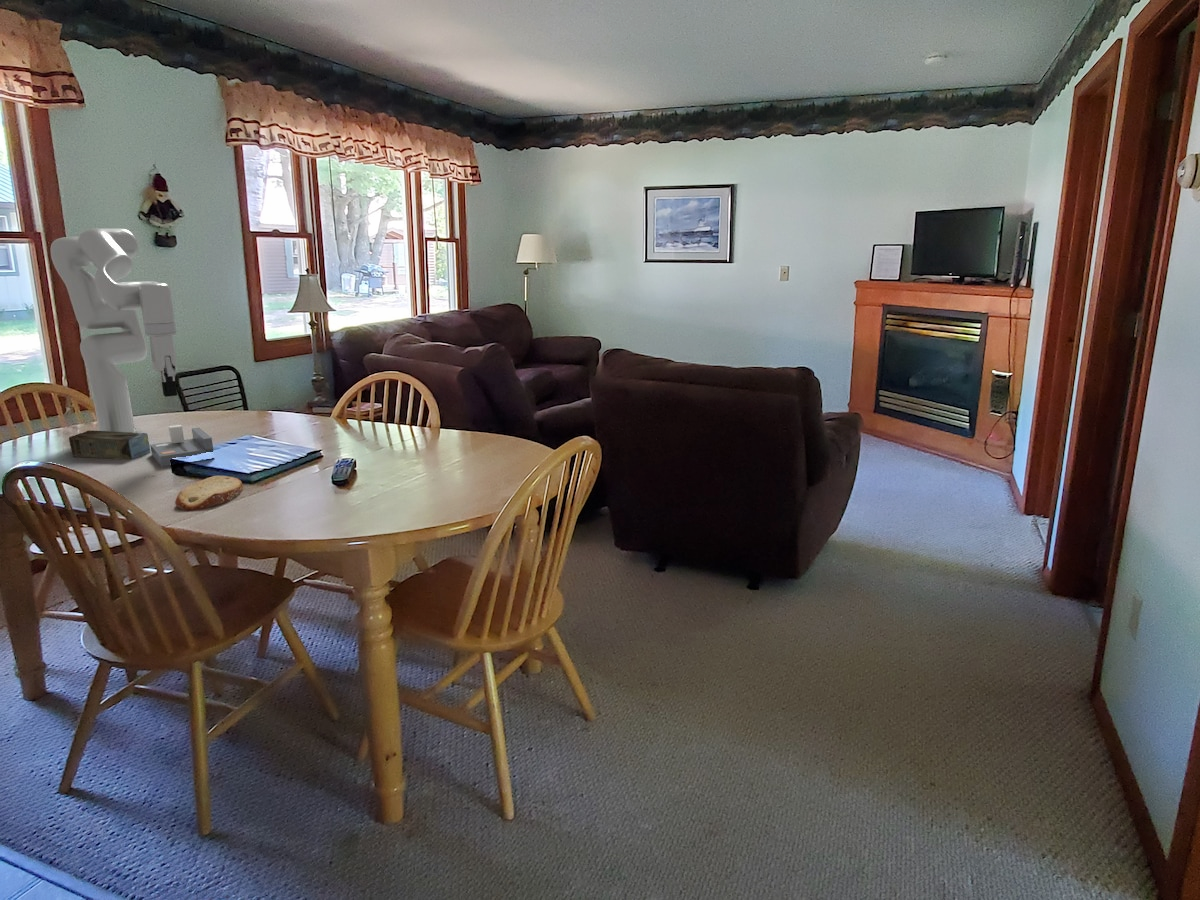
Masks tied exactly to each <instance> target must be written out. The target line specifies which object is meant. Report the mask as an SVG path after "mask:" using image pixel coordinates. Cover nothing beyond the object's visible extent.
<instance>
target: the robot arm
mask: <svg viewBox="0 0 1200 900" xmlns="http://www.w3.org/2000/svg"><path fill="white" fill-rule="evenodd" d="M138 252H139V243H138V240H137V238H136V237H135V235H134V234H133V233H132V232H131V231H129V229H125V228H120V227H119V228H116V227H115V228H112V227H111V228H109V227H108V228H107V227H106V228H105V227H102V228H101V227H97V228H96V227H95V228H87V229H85V230H84V231H82V232H81V233H80V234H79V235H78V236H77V235H76V236H64V237H59V238H55V239H54V240H53V241H52V242H51V245H50V258H51V260H52V264H53V266H54V269H55V270H56V272H57V275H59V277H60V278H61V280H62V281H63V283H64V285H65V287H66V289H67V293H68V296H69V299H70V303H71V306H72V310H73V312H74V315H75V319H76V321H77V323H78V325H79V327H81V329H83V330H86V331H102V330H112V329H114V330H115V329H118V330H119V331H118V332H116V331H115V332H106V333H105V332H104V333H96V334H92V335H88V336H86V337H84V338H83V339H82V340H81V341H80V344H79V349H80V350H79V351H80V354H81V357H82V359H83V361H84V365H85V368H86V370H87V373H88V379H89V385H90V389H91V394H92V400H93V404H94V410H95V417H96V421H97V422H96V423H97V427H98V431H114V432H132V433H138V432H140V433H142V429H140V428H137V427H135V421H134V416H133V414H134V413H133V409H132V404H131V399H130V391H129V387H128V380H127V377H126V376H125V374H124V373H123V372H122V371H120V370H119V369H118V368H117V367H116V365H117V366H118V365H121V364H122V365H123V364H129V363H136V362H142V361H143V360H145V359H146V358H147V355H148V345H147V342H146V339H145V336H146V337H149V346H150V356H151V365H152V369H153V370H154V371H156V372H157V373H158V374H160V378H161V388H162V393H163V396H164V397H166V398H167V397H174V396H175V397H176V396H178V390H177V383H176V379H175V372H176V371H177V370H178V363H177V362H178V361H177V354H176V347H175V341H174V335H178V333H177V326H176V319H175V313H174V311H175V310H174V304H173V299H172V298H173V296H172V293H171V292H172V291H171V288H170V286H169V285H168V284H167V283H165V282H157V281H153V280H143V281H142V280H141V281H140V280H139V281H136V280H135V281H121V282H118V281H120V280H122V279H124V278H125V277H127V276H128V275H130V273H131V271H132V270H133V269H132V268H133V260H132V259H133V258H135V257H136V256H137V254H138ZM83 267H96V269H97V270H96V272H95V276H94V275H93V274H92V273H90V272H89V271H88V270H87V269H85V268H83ZM138 310H141V316H142V321H143V327H144V331H143V329H142V328H143V327H142V325H141V321H140V318H139V315H138V312H137V311H138ZM144 333H145V335H144Z"/></svg>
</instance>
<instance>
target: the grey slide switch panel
mask: <svg viewBox="0 0 1200 900" xmlns="http://www.w3.org/2000/svg"><path fill="white" fill-rule="evenodd" d="M191 434H192V438H188V439H184V442H179V443H172V442H171V441H168V442H167V441H166V442H159V443H153V444H149V445H150V453H151V456H152V457H153V458H154V459H155V461H156V462H157V463H158V464H159V466H160V467H161V468H167V467H171V466H170V460H171V459H172V458H176V457H186V456H192V455H197V454H201V453H206V452H213V451H214V444H213V438H212V437H211V436H210V435H209V434H208V433H206V432H205V430H203V429H202V428H200V427H194V428H193V427H192V428H191Z"/></svg>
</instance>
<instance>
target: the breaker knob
mask: <svg viewBox="0 0 1200 900" xmlns="http://www.w3.org/2000/svg"><path fill="white" fill-rule="evenodd" d="M168 431H169V437H170V442H172V443H179V442H184V440H185V437H184V430H183V426H182V425H181V424H175V425H168Z"/></svg>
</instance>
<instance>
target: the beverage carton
mask: <svg viewBox="0 0 1200 900" xmlns="http://www.w3.org/2000/svg"><path fill="white" fill-rule="evenodd" d="M68 441H69V446H70V451H71V454H72V457H73V456H79V457H78V458H90V457H102V458H101V459H115V458H123V460H134V459H136V458H139V457H141V455H142V456H144V455H147V454H149V452H150V453H151V446H150V445H151V444H150V442H149V435H148V433H145V432H141V433H140V432H138V433H132V432H114V431H99V430H87V431H85V432H80V433H77V434H74V435H72V436H69V437H68Z"/></svg>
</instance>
